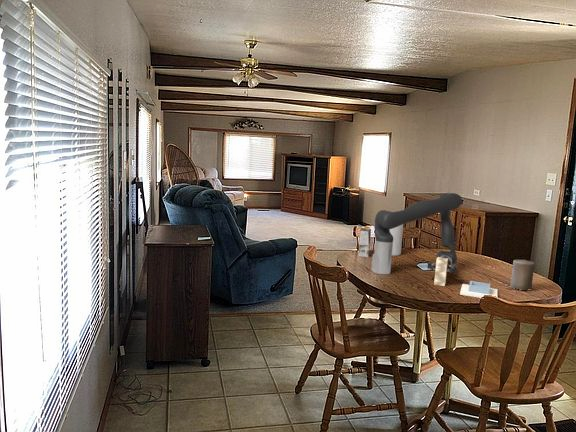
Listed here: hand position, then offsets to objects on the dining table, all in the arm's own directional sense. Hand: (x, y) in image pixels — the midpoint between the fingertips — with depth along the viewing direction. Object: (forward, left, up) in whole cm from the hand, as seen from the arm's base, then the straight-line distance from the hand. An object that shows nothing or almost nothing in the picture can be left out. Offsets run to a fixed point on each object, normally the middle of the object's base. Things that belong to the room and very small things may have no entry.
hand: (441, 269), depth 237 cm
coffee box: (-16, +63, -8) cm, 65 cm away
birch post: (+1, +1, -8) cm, 8 cm away
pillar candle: (+41, -7, -8) cm, 42 cm away
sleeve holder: (+13, -14, -8) cm, 20 cm away
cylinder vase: (+4, +68, -8) cm, 68 cm away
